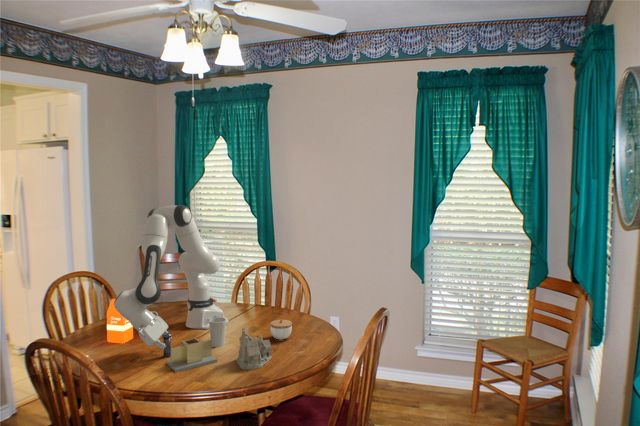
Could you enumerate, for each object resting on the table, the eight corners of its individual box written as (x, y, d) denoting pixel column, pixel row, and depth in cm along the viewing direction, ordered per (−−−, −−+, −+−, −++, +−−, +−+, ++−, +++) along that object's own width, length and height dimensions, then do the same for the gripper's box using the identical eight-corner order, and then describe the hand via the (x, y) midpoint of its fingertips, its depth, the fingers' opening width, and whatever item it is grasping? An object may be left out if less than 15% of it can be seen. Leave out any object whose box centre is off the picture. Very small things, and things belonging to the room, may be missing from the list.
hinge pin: (170, 353, 203) (169, 332, 202) (173, 356, 200) (173, 334, 199) (161, 355, 201) (160, 333, 200) (164, 358, 198) (163, 336, 197)
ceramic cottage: (239, 370, 186) (241, 334, 186) (234, 357, 202) (236, 323, 201) (276, 369, 191) (278, 333, 190) (269, 356, 206) (271, 323, 206)
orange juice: (123, 343, 215) (122, 302, 213) (107, 342, 217) (106, 300, 215) (133, 338, 223) (132, 297, 221) (117, 336, 224) (116, 296, 223)
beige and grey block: (208, 352, 202) (208, 335, 201) (214, 357, 197) (214, 339, 196) (168, 362, 191) (168, 343, 190) (174, 367, 186) (173, 348, 185)
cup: (211, 348, 210) (211, 323, 209) (207, 343, 217) (207, 318, 216) (228, 346, 213) (228, 321, 213) (223, 340, 220) (223, 316, 220)
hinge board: (206, 353, 204) (206, 351, 204) (217, 361, 195) (217, 359, 195) (166, 363, 193) (166, 360, 193) (175, 372, 184) (175, 369, 184)
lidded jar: (265, 339, 223) (265, 320, 222) (277, 333, 232) (277, 315, 232) (284, 343, 218) (284, 324, 217) (296, 336, 227) (296, 318, 227)
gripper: (141, 324, 188) (166, 347, 190) (157, 310, 209) (178, 331, 210) (131, 335, 188) (155, 358, 190) (147, 320, 209) (169, 340, 210)
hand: (167, 343), depth 200 cm, fingers open, 8 cm apart
